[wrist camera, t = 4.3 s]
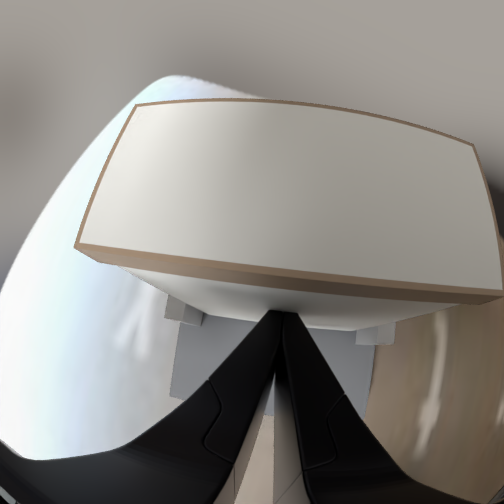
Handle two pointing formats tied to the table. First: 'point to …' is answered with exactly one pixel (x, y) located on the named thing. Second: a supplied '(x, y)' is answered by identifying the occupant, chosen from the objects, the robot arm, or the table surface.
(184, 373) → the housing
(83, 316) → the table surface
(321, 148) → the white box
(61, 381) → the table surface
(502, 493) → the phone
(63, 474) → the robot arm
